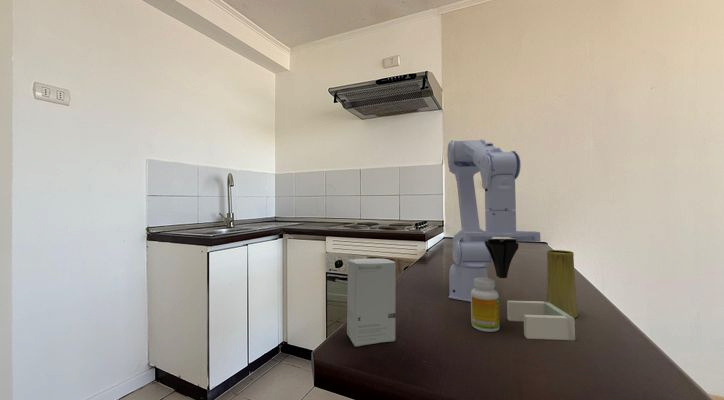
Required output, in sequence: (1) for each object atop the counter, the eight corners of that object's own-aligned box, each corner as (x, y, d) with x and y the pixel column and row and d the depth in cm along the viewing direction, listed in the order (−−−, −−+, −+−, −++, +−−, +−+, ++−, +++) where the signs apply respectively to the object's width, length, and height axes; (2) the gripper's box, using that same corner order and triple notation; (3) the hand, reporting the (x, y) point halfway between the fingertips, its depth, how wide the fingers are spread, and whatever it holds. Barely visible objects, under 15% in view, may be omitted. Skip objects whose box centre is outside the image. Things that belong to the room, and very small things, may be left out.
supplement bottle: (502, 333, 58) (501, 283, 59) (473, 331, 59) (472, 282, 60) (496, 322, 64) (495, 277, 64) (469, 321, 65) (468, 276, 65)
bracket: (526, 338, 56) (526, 316, 56) (507, 318, 66) (507, 300, 66) (575, 340, 55) (574, 318, 55) (548, 320, 65) (547, 301, 65)
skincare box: (354, 348, 53) (353, 263, 53) (346, 334, 59) (345, 258, 59) (397, 341, 55) (396, 260, 56) (385, 328, 61) (384, 255, 62)
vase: (567, 309, 71) (566, 249, 72) (584, 319, 65) (582, 253, 66) (540, 309, 72) (539, 249, 72) (554, 318, 66) (552, 253, 66)
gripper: (468, 211, 58) (470, 281, 58) (547, 210, 57) (549, 282, 56) (460, 210, 65) (461, 273, 65) (530, 209, 64) (532, 274, 63)
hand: (501, 277), depth 61 cm, fingers closed
